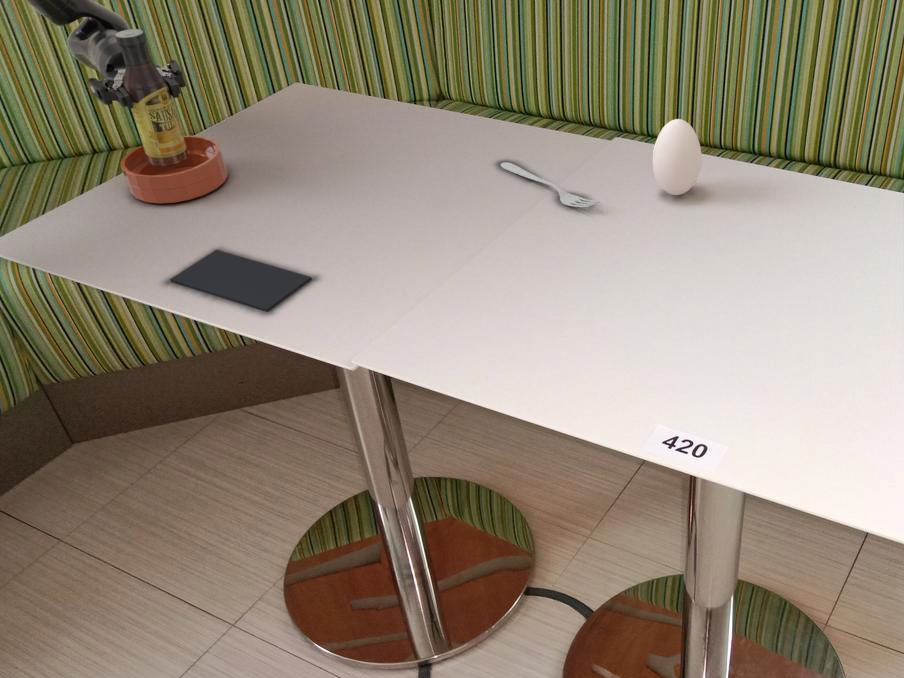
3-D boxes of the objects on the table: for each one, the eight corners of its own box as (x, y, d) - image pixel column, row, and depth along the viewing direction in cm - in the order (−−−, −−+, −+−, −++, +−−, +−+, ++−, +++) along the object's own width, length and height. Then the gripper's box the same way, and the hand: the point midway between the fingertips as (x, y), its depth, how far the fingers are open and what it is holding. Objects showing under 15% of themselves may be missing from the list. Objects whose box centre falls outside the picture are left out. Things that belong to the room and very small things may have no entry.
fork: (510, 160, 161) (508, 150, 160) (603, 211, 147) (603, 200, 146) (494, 166, 160) (493, 156, 159) (587, 218, 146) (586, 207, 145)
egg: (709, 195, 150) (713, 121, 142) (671, 209, 147) (672, 134, 139) (681, 178, 154) (682, 105, 147) (643, 191, 152) (642, 118, 144)
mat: (170, 282, 136) (169, 279, 136) (217, 252, 142) (216, 249, 141) (267, 312, 129) (266, 309, 129) (312, 279, 135) (311, 276, 135)
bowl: (132, 213, 152) (120, 183, 149) (132, 173, 163) (121, 145, 159) (231, 195, 156) (222, 165, 152) (225, 157, 166) (216, 129, 163)
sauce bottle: (171, 172, 153) (126, 43, 140) (141, 166, 155) (94, 38, 142) (199, 155, 157) (158, 28, 144) (169, 149, 159) (126, 24, 146)
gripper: (68, 51, 152) (94, 83, 142) (160, 32, 158) (192, 61, 148) (86, 98, 157) (112, 132, 147) (175, 78, 163) (206, 109, 153)
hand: (152, 96), depth 147 cm, fingers closed on sauce bottle, 6 cm apart
